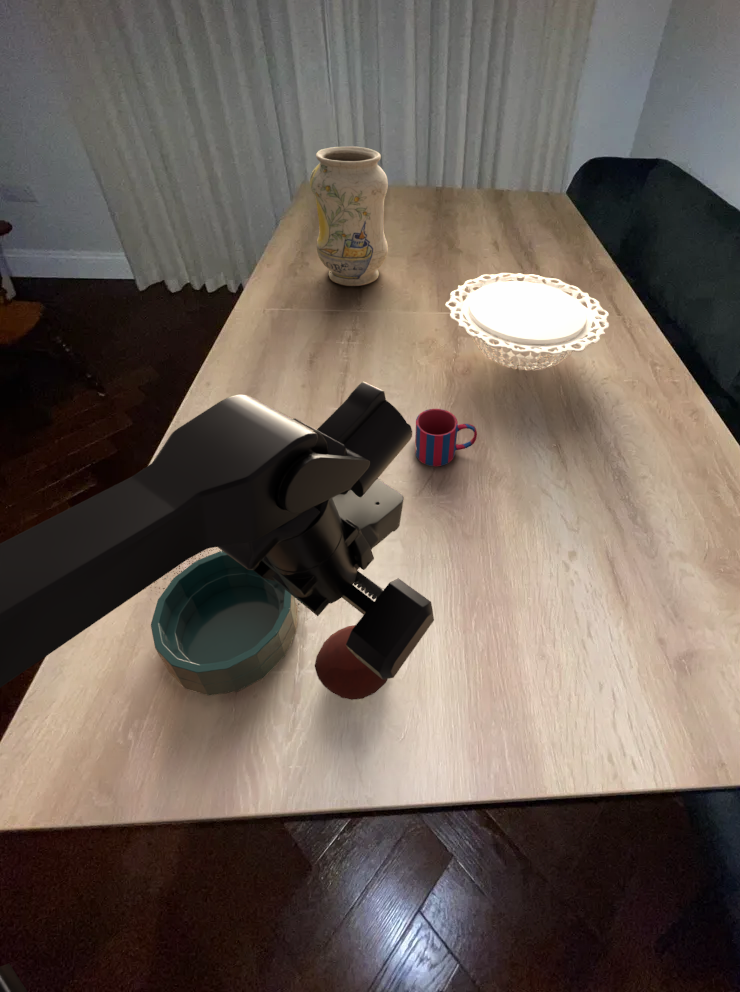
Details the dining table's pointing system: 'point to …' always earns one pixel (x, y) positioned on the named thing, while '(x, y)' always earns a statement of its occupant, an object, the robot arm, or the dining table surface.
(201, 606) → the bowl
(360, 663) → the potato
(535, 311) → the white lattice bowl
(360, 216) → the vase
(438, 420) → the mug
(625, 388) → the dining table surface
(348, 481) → the robot arm
